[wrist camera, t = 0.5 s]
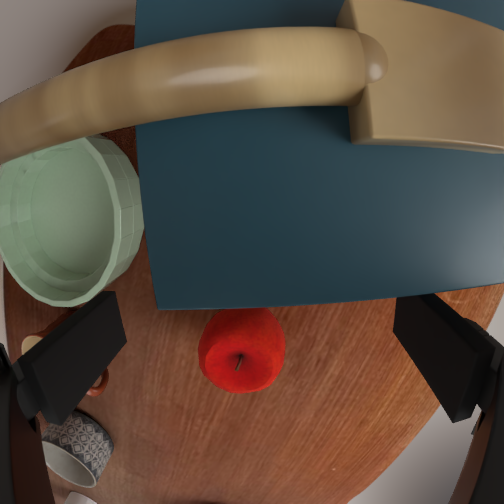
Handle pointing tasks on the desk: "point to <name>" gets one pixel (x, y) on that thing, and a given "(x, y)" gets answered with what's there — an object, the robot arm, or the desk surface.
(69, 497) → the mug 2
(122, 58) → the wooden mallet
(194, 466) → the desk surface
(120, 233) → the bowl
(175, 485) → the desk surface
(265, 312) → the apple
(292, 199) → the teal arch block
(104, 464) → the planter
